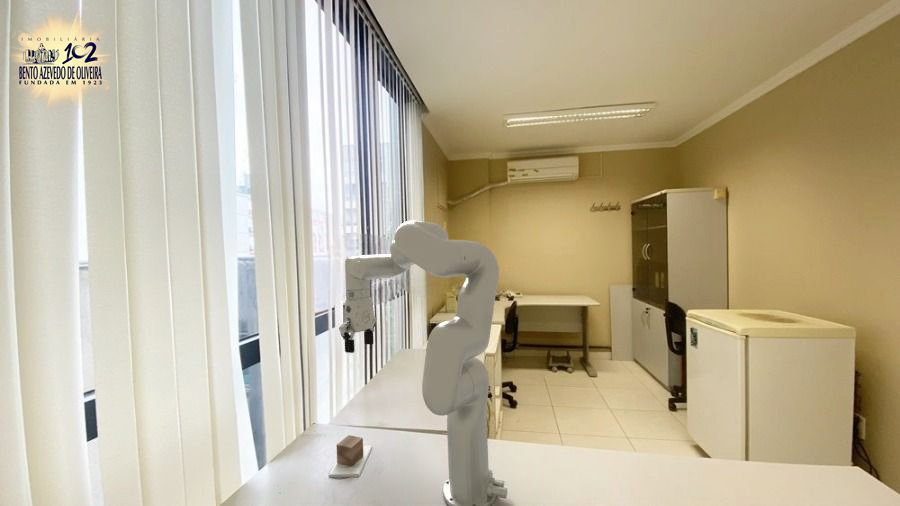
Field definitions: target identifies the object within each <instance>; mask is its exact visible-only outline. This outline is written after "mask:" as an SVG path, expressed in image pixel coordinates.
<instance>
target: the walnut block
mask: <svg viewBox="0 0 900 506" xmlns="http://www.w3.org/2000/svg"><path fill="white" fill-rule="evenodd" d="M363 446H364V438H363V437H362V436H361V437H360V436H355V435H350V434H348V435H347V436H345V437H344V438H343V439H342V440H341V441H339V442H338V443H337V444H336V462H337V463H339V464H343V465H347V466H353V465H354V464H355V463H356V462H357V461H358V460H359V459H361V458H362V457H363V456H364V455H363Z"/></svg>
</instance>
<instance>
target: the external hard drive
mask: <svg viewBox="0 0 900 506" xmlns="http://www.w3.org/2000/svg"><path fill="white" fill-rule="evenodd" d="M372 450H373V445H363V455H364V456H363V457H362V458H361V459H359V460H358V461H357V462H356V463H355V464H354V465H353V466H347V465H343V464H339V463H337V461H335V464H334V465H333V467H332V469H331V470H330V472H329V474H328V476H327V477H328V478H344V477H345V478H359V477H360V476H361V474H362V472H363V470H364V467H365V465H366V462H367V461H368V458H369V456H370V454H371V451H372Z"/></svg>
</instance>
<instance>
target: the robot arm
mask: <svg viewBox="0 0 900 506" xmlns="http://www.w3.org/2000/svg"><path fill="white" fill-rule="evenodd" d="M393 238H394V239H393V240H392V242H391V244H390V246H389V254H367V255H366V254H363V255H358V256H349V257H347V258H346V259H345V261H344V270H345V271H344V273H345V274H344V275H345V303H344V311H343V312H344V313H343V323H342V324H340V326H339V327H338V330H339V332H340V336H341V337H342V340H344V352H345V353H348V354H353V353H355V339H354V337H355V334H356V333H361V332H364V331H365V332H364V333H363V334H364V336H363V337H364V344H365V345H373V344H374V332H375V327H376V322H377V316H375V311H374V304H373V300H372V297H371V284H370V283H371V280H379V279H390V278H393V277H396V276H399V275H401V274H404V273H406V272H408V271H409V269H410V268H411V267H412V266H413V265H416V266H417V267H419V268H421V269H422V270H424V271H425V272H426V273H429V274H430V275H432V276H434V277H438V278H445V279H447V278H453V277H461V276H464V277H465V281H464V283H463V284H462V286H461V289H460V291H459V293H458V297H457V305H456V311H455V315H454V316H453V318H451V319H449V320H446V321H442V322H440V323H439V324H437V325H436V326H435V327H434V328H433V329H432V330H431V332H430V334H429V336H428V339H427V341H426V342H427V343H426V348H425V355H424V356H425V358H424V364H423V365H424V366H423V372H422V373H423V374H422V380H421V381H422V382H421V386H422V387H421V389H422V390H421V391H422V392H421V393H422V394H421V395H422V398H423V401H424V404H425V406H426V408H427V410H429V411H430V412H431V413H432V414H434V415H436V416H446V430H447V431H446V433H447V435H446V437H447V459H448V461H447V462H448V478H447V479H446V480H445V482H444V484H443V485H442V486H443V487H442V495H443V499H444V502H445V503H446V505H448V506H492V505H493V504H494V502H495V500H496V497H498V498H502V499H504V500H505V499H507V498H508V488H507V487H505V481H504V480H500V479H499V480H498V479H496V478H495V477H493V476H494V475H493V470H492V469H490V467H489V445H488V442H489V441H488V418H487V417H488V414H487V413H488V399H489V398H488V396H489V388H490V376H489V372H488V369H487V367H486V365H485V364H484V362H483V361H482V360H480V359H479V358H477V356H480V355H481V354H483V353H484V352H485V351H486V349H487V348H488V346H489V343H490V338H491V331H492V330H491V329H492V325H493V317H494V316H493V315H494V309H495V301H496V296H497V295H496V294H497V291H498V290H497V289H498V285H499V279H500V270H499V269H500V268H499V262H498V260H497V258H496V256H495V253H493V252H492V250H491V249H490V248H489V247H488V246H487V245H485V244H483V243H481V242H478V241H474V240H469V239H467V240H466V239H449V235H448V231H446V228H444V226H442V225H440V224H439V223H435V222H429V221H421V220H420V221H419V220H407V221H405V222H403V223H401V224H400V225H399V227H398V228H397V229H396V231H395V233H394V237H393Z"/></svg>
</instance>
